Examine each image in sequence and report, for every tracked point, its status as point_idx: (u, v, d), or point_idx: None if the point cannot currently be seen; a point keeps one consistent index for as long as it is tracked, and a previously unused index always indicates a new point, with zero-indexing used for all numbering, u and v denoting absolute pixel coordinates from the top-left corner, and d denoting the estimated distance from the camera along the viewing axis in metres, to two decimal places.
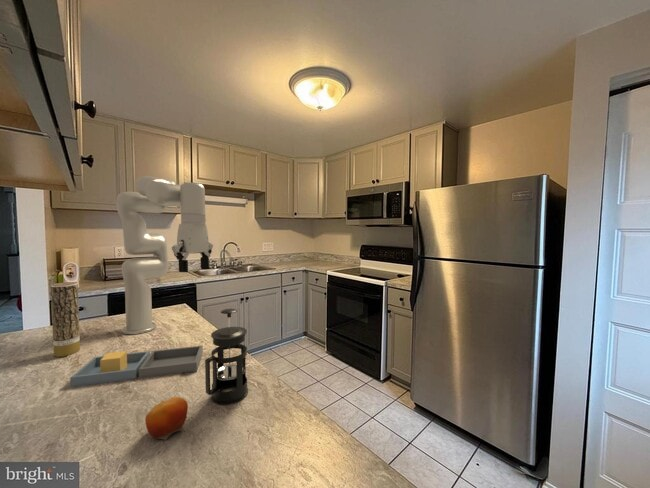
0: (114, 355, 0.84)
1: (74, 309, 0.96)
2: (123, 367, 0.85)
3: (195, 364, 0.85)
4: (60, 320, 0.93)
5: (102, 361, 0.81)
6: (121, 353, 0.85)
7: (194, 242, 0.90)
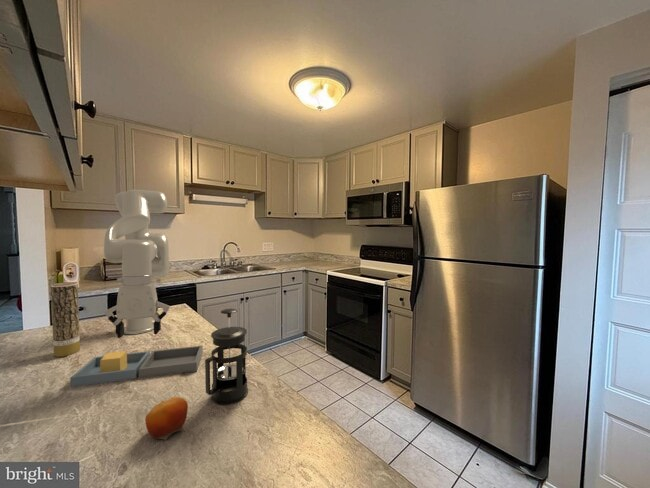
0: (114, 355, 0.84)
1: (74, 309, 0.96)
2: (123, 367, 0.85)
3: (195, 364, 0.85)
4: (60, 320, 0.93)
5: (102, 361, 0.81)
6: (121, 353, 0.85)
7: None
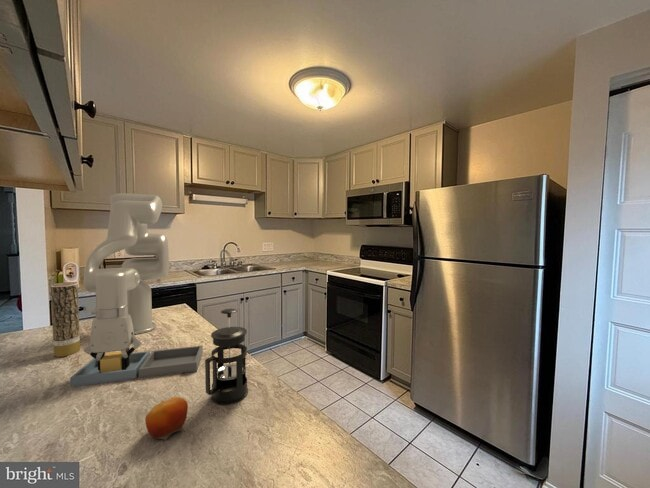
0: (114, 355, 0.84)
1: (74, 309, 0.96)
2: None
3: (195, 364, 0.85)
4: (60, 320, 0.93)
5: (102, 361, 0.81)
6: (121, 353, 0.85)
7: None
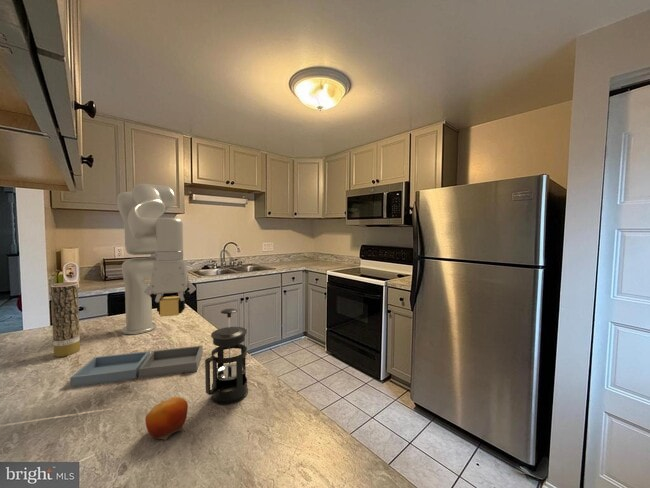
0: (171, 298, 0.88)
1: (74, 309, 0.96)
2: None
3: (195, 364, 0.85)
4: (60, 320, 0.93)
5: (161, 302, 0.85)
6: (177, 297, 0.89)
7: None
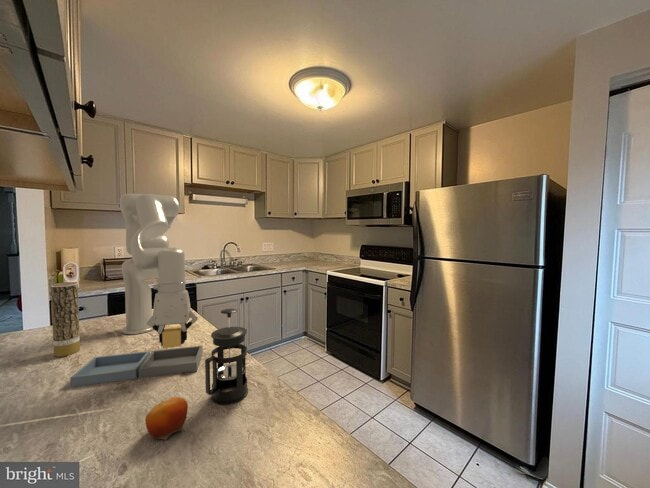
0: (173, 328, 0.88)
1: (74, 309, 0.96)
2: None
3: (195, 364, 0.85)
4: (60, 320, 0.93)
5: (164, 333, 0.85)
6: (179, 327, 0.90)
7: None
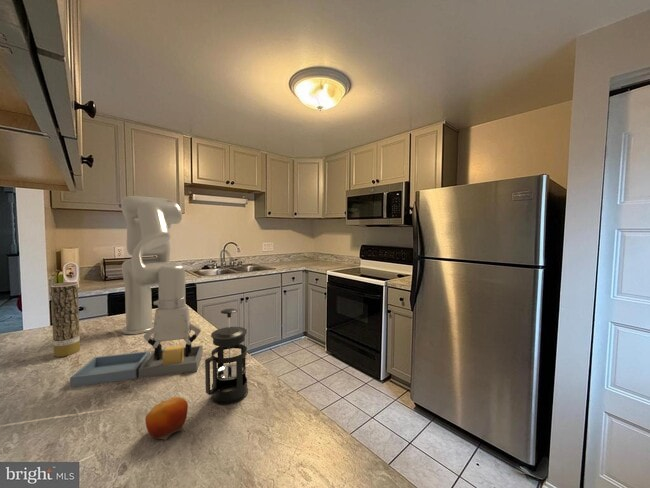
0: (173, 348, 0.89)
1: (74, 309, 0.96)
2: (181, 360, 0.90)
3: (195, 364, 0.85)
4: (60, 320, 0.93)
5: (164, 354, 0.86)
6: (179, 347, 0.90)
7: None
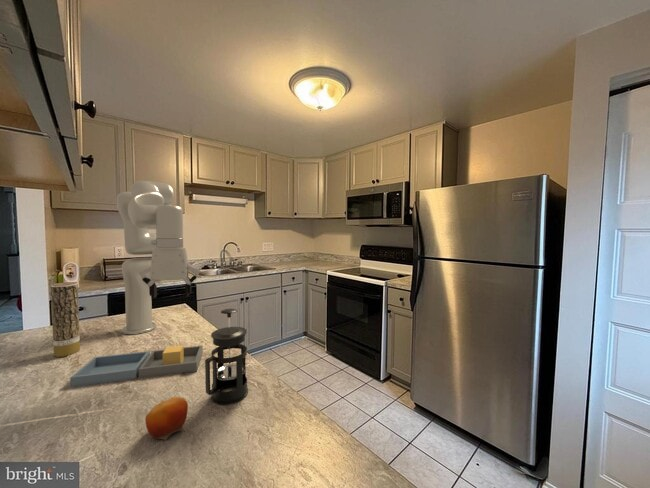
0: (173, 348, 0.89)
1: (74, 309, 0.96)
2: (181, 360, 0.90)
3: (195, 364, 0.85)
4: (60, 320, 0.93)
5: (164, 354, 0.86)
6: (179, 347, 0.90)
7: None
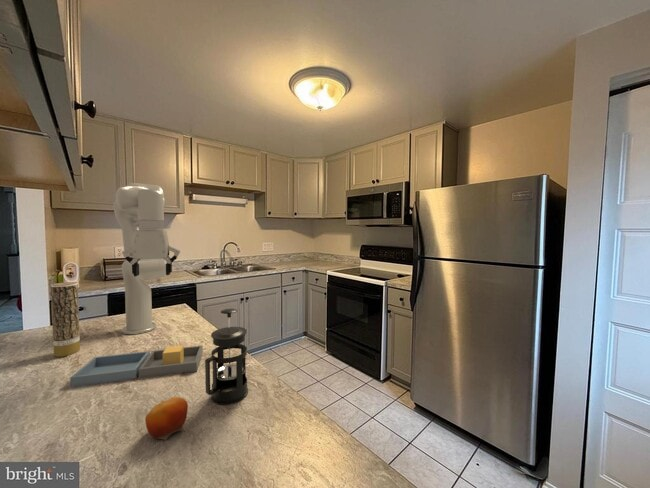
0: (173, 348, 0.89)
1: (74, 309, 0.96)
2: (181, 360, 0.90)
3: (195, 364, 0.85)
4: (60, 320, 0.93)
5: (164, 354, 0.86)
6: (179, 347, 0.90)
7: None
